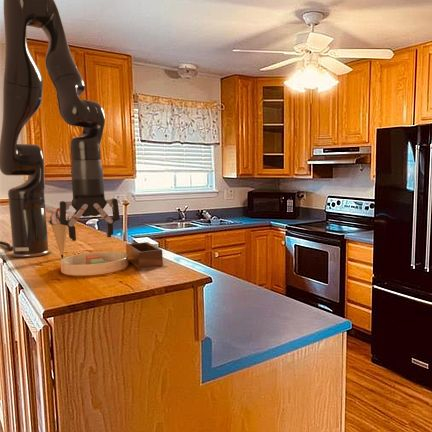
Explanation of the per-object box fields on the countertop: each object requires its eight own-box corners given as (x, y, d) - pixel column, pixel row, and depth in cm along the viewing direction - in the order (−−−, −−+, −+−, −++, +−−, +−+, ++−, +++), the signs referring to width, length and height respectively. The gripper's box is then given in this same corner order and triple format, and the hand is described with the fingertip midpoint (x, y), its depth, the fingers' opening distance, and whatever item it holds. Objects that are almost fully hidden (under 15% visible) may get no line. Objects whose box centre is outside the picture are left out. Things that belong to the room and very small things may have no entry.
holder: (126, 260, 120) (125, 244, 120) (148, 258, 124) (147, 242, 123) (139, 270, 109) (138, 252, 109) (163, 267, 113) (162, 249, 112)
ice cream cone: (78, 258, 124) (74, 207, 122) (61, 262, 118) (58, 209, 117) (62, 257, 126) (59, 206, 124) (46, 261, 120) (42, 208, 118)
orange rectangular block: (86, 264, 115) (85, 255, 114) (98, 262, 116) (97, 254, 116) (88, 267, 111) (88, 258, 111) (101, 265, 113) (100, 256, 113)
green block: (90, 268, 110) (89, 259, 109) (102, 267, 111) (102, 258, 111) (92, 271, 106) (92, 262, 106) (105, 270, 108) (105, 260, 108)
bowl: (57, 267, 114) (56, 256, 113) (120, 259, 123) (120, 249, 122) (65, 280, 100) (64, 268, 100) (135, 270, 109) (134, 259, 109)
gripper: (113, 176, 118) (116, 234, 120) (55, 178, 110) (60, 239, 112) (119, 177, 112) (123, 237, 113) (58, 178, 104) (63, 243, 106)
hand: (91, 238), depth 113 cm, fingers open, 8 cm apart
